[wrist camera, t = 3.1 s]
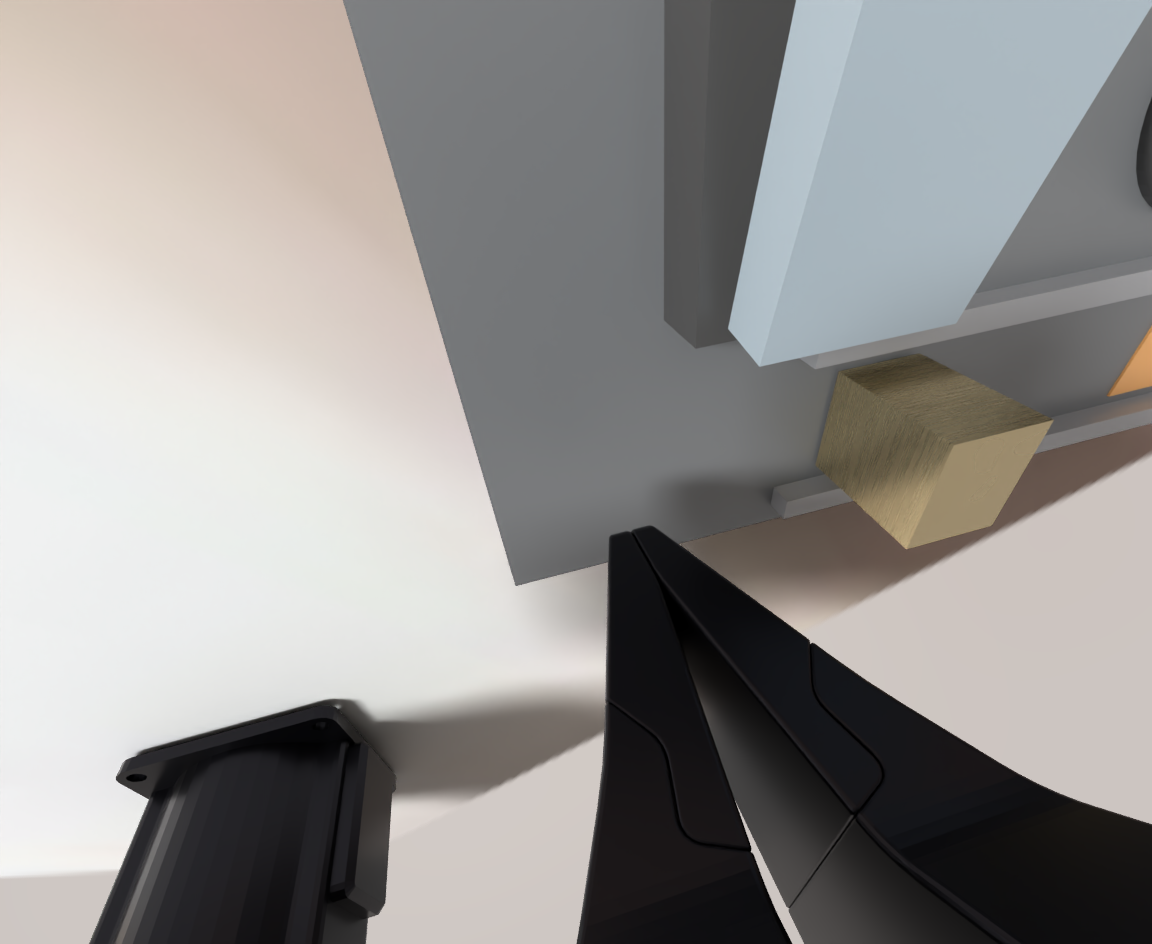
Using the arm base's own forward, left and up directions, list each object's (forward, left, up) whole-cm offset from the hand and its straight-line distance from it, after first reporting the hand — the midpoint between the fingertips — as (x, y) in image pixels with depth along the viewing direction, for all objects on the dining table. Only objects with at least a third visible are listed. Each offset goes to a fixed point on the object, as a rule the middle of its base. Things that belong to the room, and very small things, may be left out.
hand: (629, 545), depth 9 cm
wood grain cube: (+7, 0, -2) cm, 7 cm away
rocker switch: (+4, +6, 0) cm, 7 cm away
